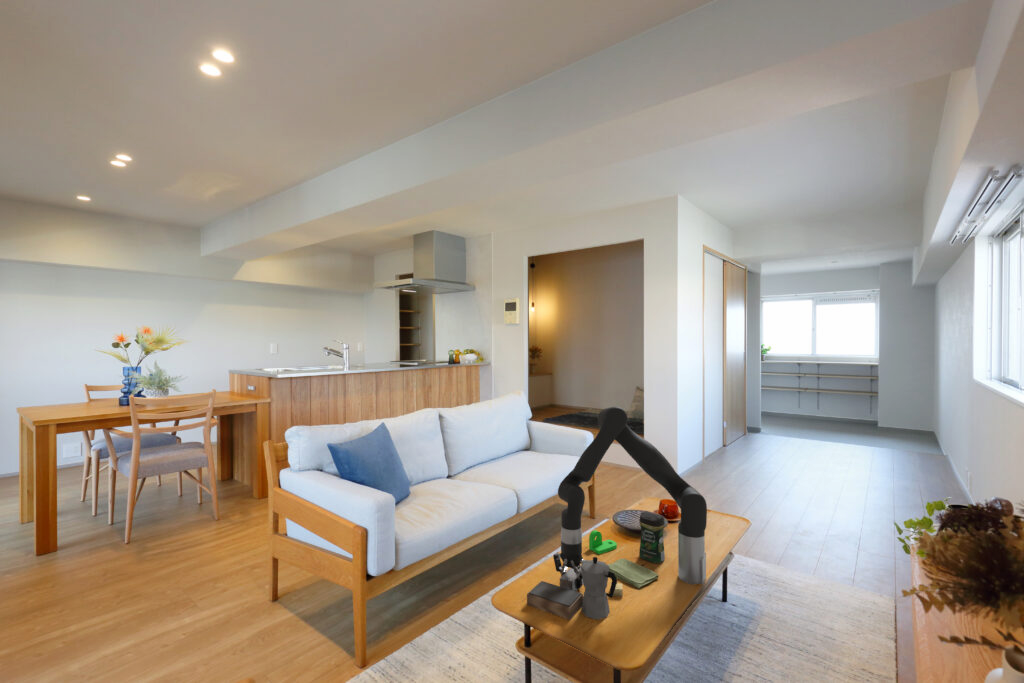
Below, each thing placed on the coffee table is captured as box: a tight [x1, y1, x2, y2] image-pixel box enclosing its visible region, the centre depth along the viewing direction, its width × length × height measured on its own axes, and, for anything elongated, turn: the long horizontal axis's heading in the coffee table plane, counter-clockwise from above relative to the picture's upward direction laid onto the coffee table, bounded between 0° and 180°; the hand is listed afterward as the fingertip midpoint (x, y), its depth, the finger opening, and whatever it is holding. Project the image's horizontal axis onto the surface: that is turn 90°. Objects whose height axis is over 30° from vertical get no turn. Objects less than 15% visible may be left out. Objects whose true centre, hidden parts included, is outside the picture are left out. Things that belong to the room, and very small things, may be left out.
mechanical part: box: [588, 529, 618, 555], centre depth 200 cm, size 12×6×8 cm, turn 123°
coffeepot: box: [580, 556, 618, 620], centre depth 153 cm, size 15×9×18 cm, turn 39°
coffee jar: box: [638, 510, 666, 564], centre depth 191 cm, size 10×8×19 cm
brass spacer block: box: [613, 582, 624, 598], centre depth 165 cm, size 4×4×3 cm
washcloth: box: [607, 558, 660, 589], centre depth 178 cm, size 13×18×3 cm
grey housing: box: [559, 568, 584, 592], centre depth 169 cm, size 5×13×5 cm, turn 147°
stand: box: [526, 580, 584, 621], centre depth 158 cm, size 16×10×4 cm, turn 57°
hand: (571, 585), depth 169 cm, fingers closed on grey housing, 5 cm apart
